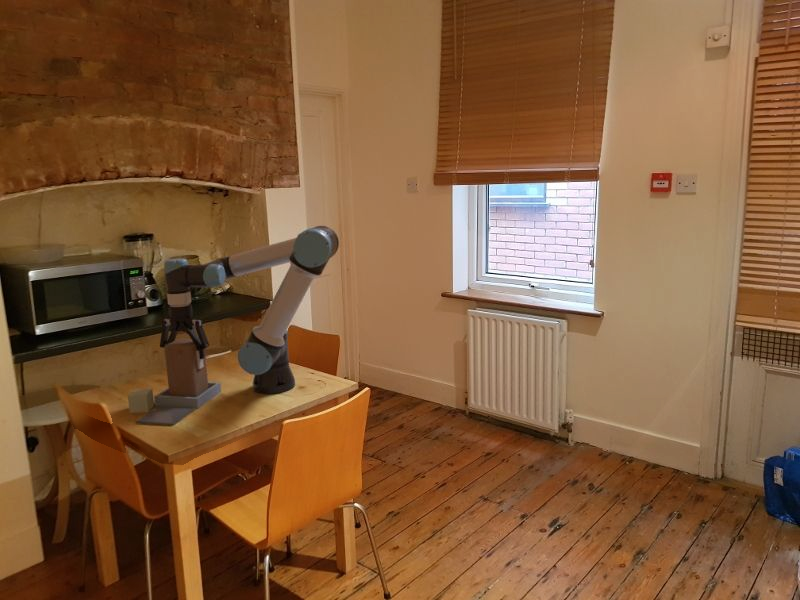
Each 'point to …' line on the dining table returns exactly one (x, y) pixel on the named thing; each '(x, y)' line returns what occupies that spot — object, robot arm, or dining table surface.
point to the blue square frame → (189, 402)
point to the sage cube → (140, 400)
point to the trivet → (165, 415)
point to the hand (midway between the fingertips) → (186, 367)
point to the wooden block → (184, 369)
